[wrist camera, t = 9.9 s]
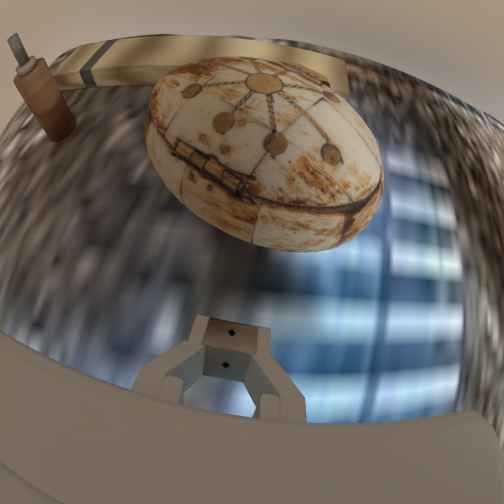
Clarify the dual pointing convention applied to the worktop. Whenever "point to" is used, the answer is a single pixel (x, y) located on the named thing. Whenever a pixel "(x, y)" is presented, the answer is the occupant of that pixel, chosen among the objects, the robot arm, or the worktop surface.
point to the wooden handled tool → (41, 93)
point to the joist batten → (179, 60)
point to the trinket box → (265, 152)
